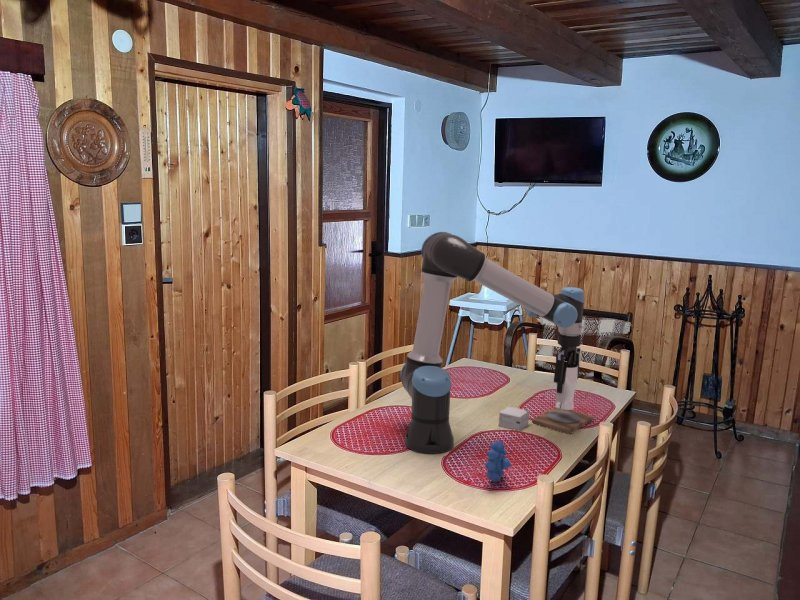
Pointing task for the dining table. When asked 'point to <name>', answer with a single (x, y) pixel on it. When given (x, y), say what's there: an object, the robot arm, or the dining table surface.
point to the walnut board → (563, 420)
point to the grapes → (496, 461)
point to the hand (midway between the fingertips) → (564, 399)
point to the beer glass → (569, 389)
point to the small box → (514, 418)
